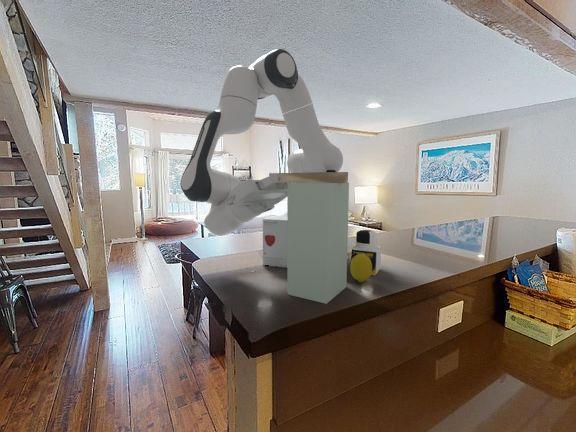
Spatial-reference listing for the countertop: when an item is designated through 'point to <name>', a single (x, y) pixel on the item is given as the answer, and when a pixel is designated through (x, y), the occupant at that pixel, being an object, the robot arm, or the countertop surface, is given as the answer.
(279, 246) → the supplement box
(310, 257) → the pedestal
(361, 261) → the lemon
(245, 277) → the countertop surface
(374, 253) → the medicine bottle
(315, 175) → the birch bar
